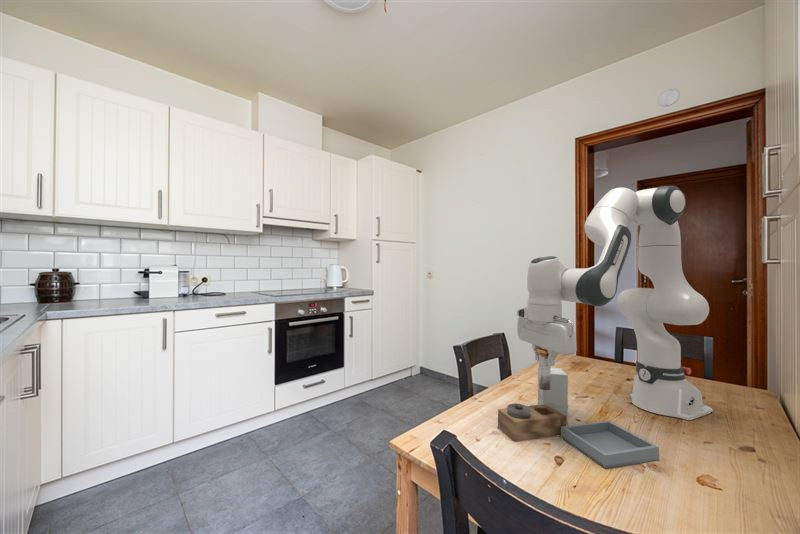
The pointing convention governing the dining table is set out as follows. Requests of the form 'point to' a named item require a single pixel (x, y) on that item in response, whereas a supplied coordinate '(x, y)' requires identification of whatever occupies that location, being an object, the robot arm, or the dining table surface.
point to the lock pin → (543, 369)
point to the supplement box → (555, 391)
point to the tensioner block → (530, 421)
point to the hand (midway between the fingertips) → (544, 362)
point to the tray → (609, 444)
